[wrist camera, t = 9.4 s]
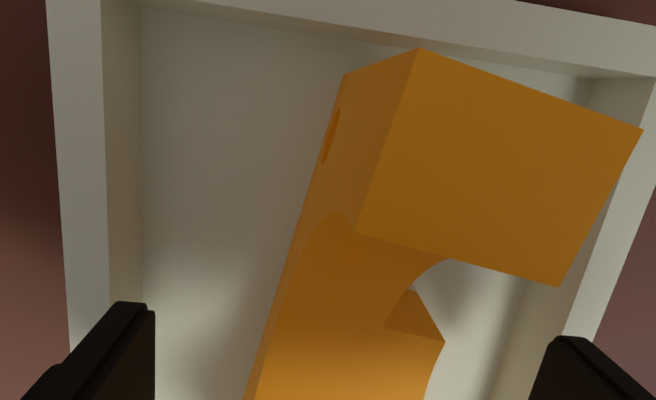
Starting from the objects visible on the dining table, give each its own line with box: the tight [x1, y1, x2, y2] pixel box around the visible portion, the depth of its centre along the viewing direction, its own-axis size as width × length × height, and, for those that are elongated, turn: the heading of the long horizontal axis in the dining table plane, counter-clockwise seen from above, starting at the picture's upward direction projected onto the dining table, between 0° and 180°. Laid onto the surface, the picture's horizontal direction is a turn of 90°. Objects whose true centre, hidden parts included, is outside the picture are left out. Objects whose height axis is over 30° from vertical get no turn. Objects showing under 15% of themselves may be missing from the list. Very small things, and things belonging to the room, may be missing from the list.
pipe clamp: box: [242, 47, 645, 400], centre depth 8 cm, size 12×4×6 cm, turn 162°
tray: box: [46, 0, 656, 400], centre depth 11 cm, size 14×17×2 cm
